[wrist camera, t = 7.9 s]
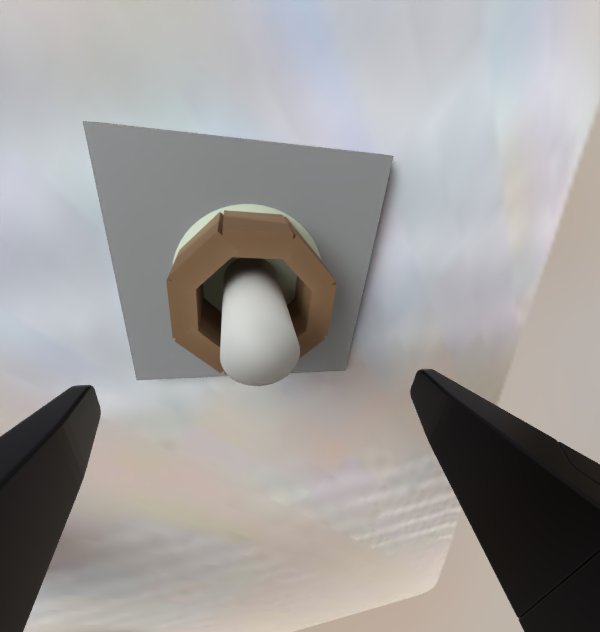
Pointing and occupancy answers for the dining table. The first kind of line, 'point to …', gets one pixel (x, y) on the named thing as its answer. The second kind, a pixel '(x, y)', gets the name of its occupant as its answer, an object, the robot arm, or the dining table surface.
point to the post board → (237, 273)
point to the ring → (245, 242)
